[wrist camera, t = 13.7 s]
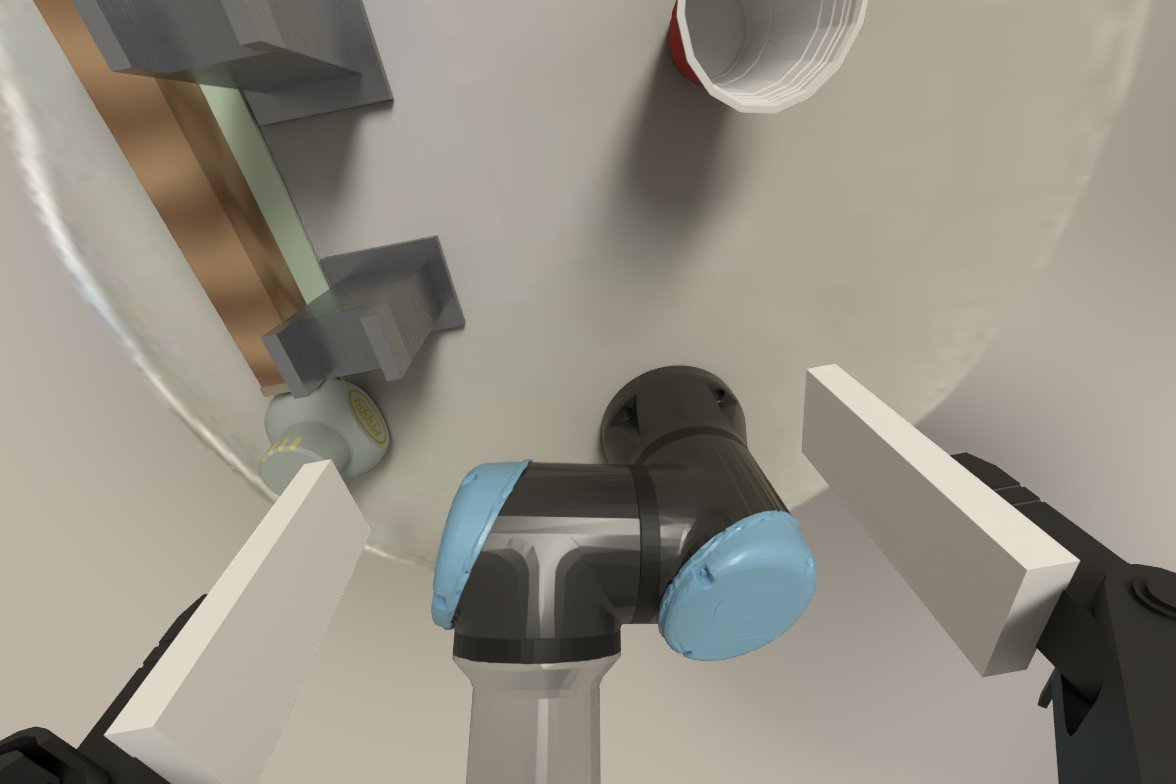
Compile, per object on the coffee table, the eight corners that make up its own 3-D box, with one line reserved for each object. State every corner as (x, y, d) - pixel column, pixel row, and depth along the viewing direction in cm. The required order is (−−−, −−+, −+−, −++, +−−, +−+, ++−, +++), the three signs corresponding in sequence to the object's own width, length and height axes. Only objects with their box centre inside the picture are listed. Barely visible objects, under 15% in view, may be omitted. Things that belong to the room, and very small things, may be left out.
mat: (360, 353, 45) (359, 354, 44) (268, 370, 45) (266, 372, 44) (188, -27, 31) (184, -29, 31) (57, 0, 31) (51, -2, 31)
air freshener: (271, 382, 46) (205, 441, 37) (347, 354, 45) (299, 408, 36) (336, 466, 51) (292, 535, 42) (405, 442, 50) (375, 508, 41)
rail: (337, 363, 45) (316, 386, 41) (290, 372, 45) (264, 396, 41) (141, -36, 30) (79, -63, 26) (73, -22, 30) (1, -46, 26)
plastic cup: (780, 104, 37) (871, 93, 27) (646, 132, 38) (685, 132, 27) (783, -79, 32) (898, -183, 22) (627, -45, 32) (666, -131, 22)
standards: (465, 322, 44) (432, 398, 31) (361, 342, 44) (287, 425, 32) (349, -40, 31) (215, -156, 19) (204, -10, 32) (-24, -105, 19)
